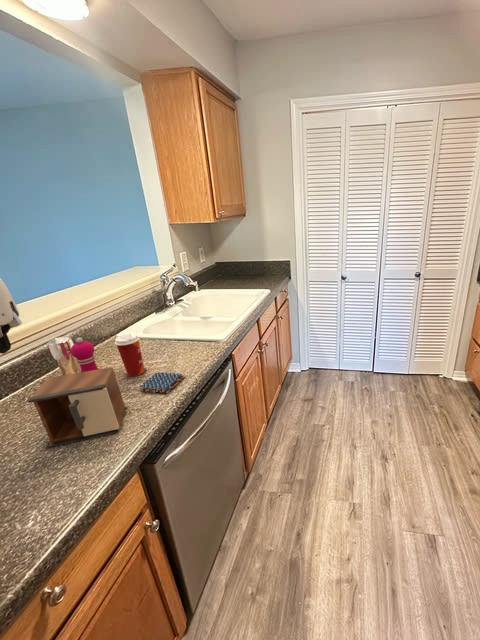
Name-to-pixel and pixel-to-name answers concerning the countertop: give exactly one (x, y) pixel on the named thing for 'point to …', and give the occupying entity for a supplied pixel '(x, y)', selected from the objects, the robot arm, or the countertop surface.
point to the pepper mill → (84, 355)
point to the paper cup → (130, 353)
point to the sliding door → (93, 412)
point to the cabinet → (56, 403)
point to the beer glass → (64, 355)
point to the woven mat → (161, 382)
